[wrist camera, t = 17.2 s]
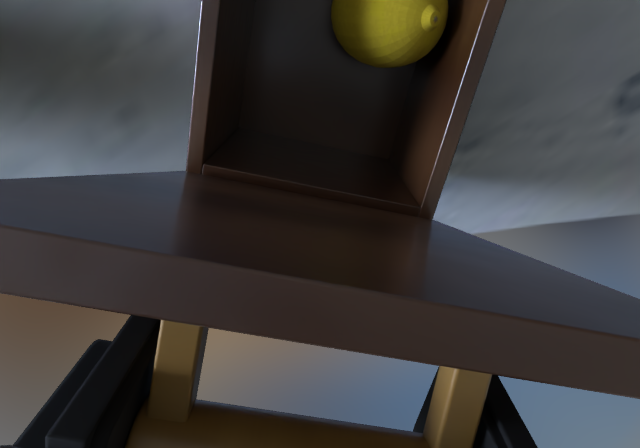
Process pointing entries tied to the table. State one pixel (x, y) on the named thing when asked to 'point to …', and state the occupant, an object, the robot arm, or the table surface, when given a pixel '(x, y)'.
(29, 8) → the table surface
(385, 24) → the lemon
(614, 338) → the lid
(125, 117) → the table surface
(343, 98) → the chest
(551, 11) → the table surface
